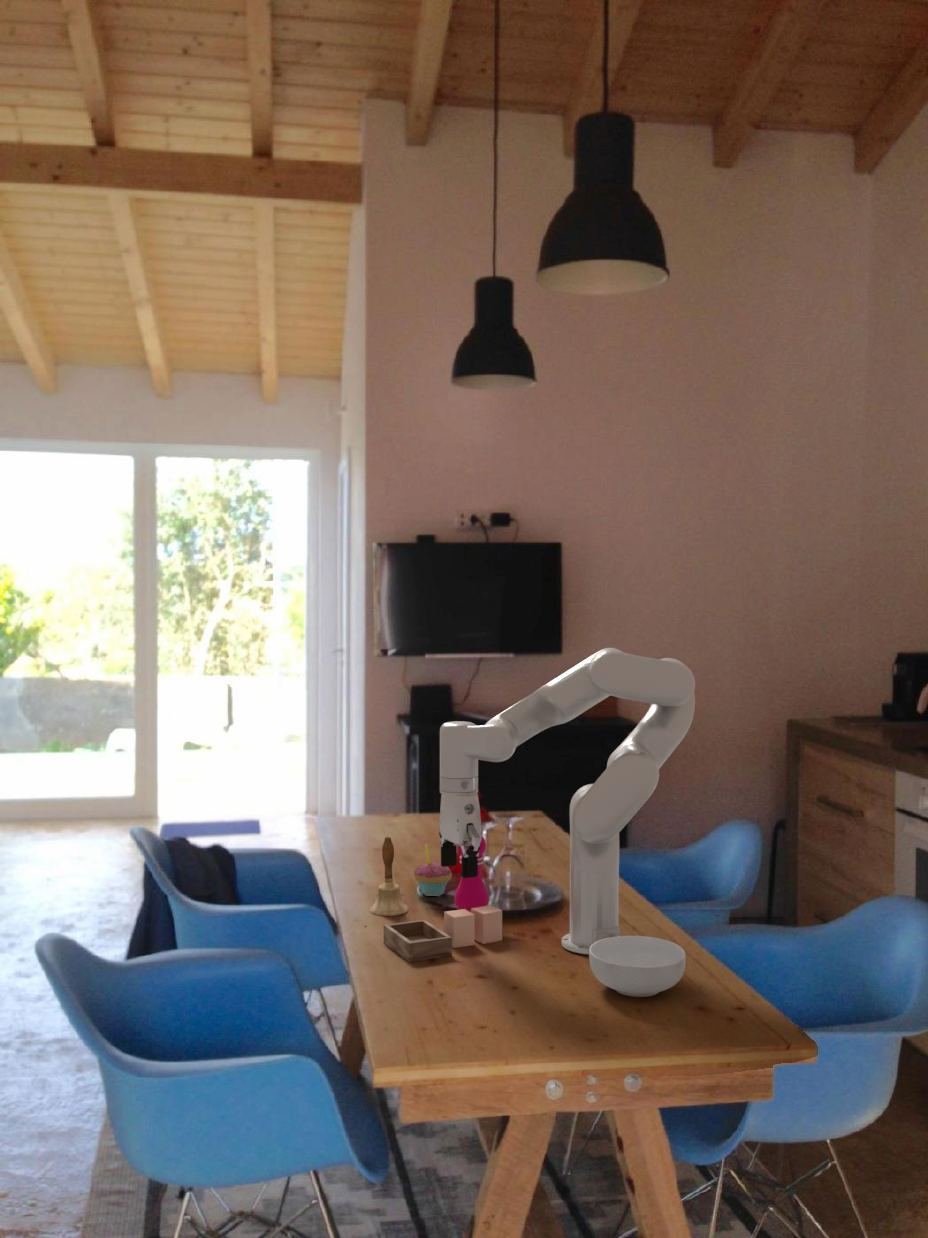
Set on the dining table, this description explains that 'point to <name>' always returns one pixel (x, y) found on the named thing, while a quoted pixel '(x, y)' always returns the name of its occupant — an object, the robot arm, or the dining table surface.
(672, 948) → the cereal bowl
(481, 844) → the pepper mill
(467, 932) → the pale pink block
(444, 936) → the walnut crate
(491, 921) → the pale pink block
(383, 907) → the hand bell
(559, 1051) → the dining table surface
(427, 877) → the cupcake
